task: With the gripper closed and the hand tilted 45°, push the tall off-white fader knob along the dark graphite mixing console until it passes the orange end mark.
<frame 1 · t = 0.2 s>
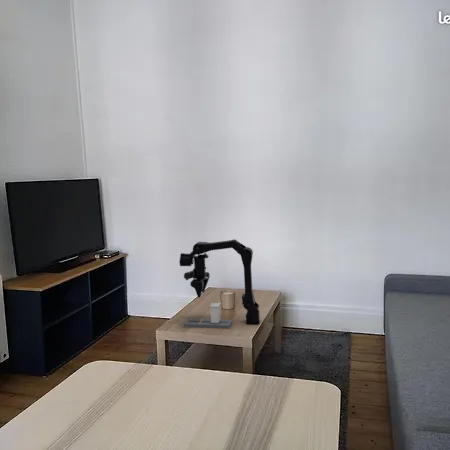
hand: (201, 294, 245), 14 cm above the table, tool pointing down, fingers open, 9 cm apart
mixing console: (208, 324, 241), on the table
fader knob: (215, 313, 239), point 6 cm above the table, slide at 0.0 cm
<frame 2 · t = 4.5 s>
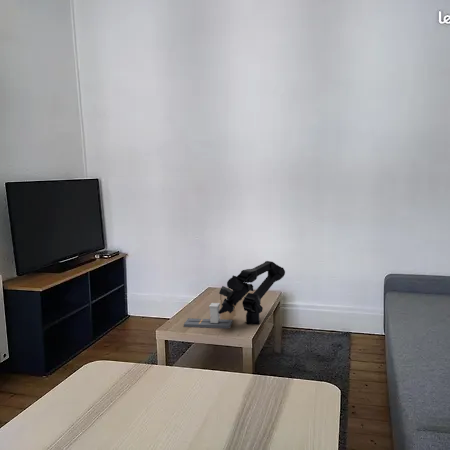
hand: (219, 313, 239), 7 cm above the table, tool tilted 45°, fingers closed
fader knob: (214, 313, 239), point 6 cm above the table, slide at 0.3 cm, touching gripper
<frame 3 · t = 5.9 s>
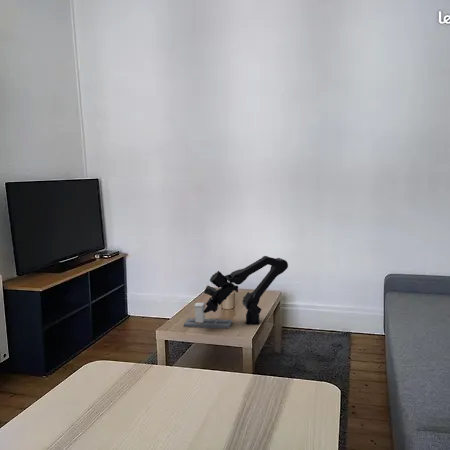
hand: (204, 312, 240), 7 cm above the table, tool tilted 45°, fingers closed, pressing on fader knob
fader knob: (200, 312, 241), point 6 cm above the table, slide at 8.3 cm, touching gripper
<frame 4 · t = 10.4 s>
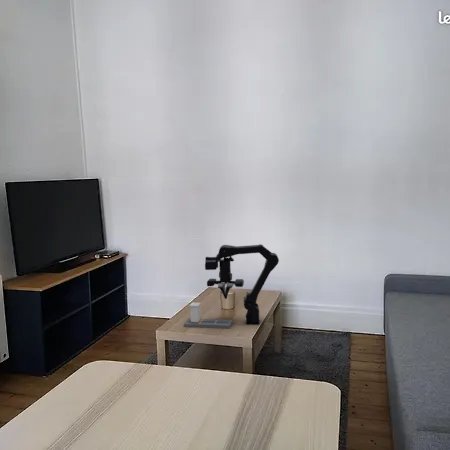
hand: (225, 298, 241), 13 cm above the table, tool pointing down, fingers closed
fader knob: (195, 312, 241), point 6 cm above the table, slide at 10.7 cm
at the end: fader knob slide at 10.7 cm; the gripper is holding nothing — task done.
